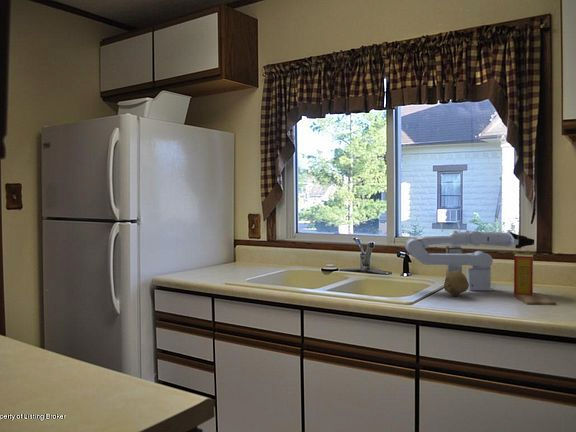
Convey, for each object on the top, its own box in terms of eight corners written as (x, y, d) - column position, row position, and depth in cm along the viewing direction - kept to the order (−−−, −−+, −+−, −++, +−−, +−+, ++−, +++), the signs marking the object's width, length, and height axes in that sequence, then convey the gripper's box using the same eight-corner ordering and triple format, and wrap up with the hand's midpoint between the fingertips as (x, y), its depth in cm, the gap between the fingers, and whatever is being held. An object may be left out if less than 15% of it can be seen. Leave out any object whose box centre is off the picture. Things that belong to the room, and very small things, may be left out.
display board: (526, 304, 182) (526, 302, 182) (514, 296, 196) (514, 294, 196) (556, 304, 181) (556, 302, 181) (542, 297, 195) (542, 295, 195)
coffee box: (445, 280, 236) (445, 245, 236) (459, 280, 235) (459, 245, 234) (447, 283, 227) (447, 247, 227) (462, 283, 226) (462, 247, 225)
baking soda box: (532, 296, 196) (532, 255, 195) (514, 295, 199) (514, 254, 198) (532, 292, 204) (533, 253, 204) (515, 291, 207) (515, 252, 206)
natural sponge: (473, 296, 198) (473, 270, 197) (461, 299, 192) (461, 273, 192) (452, 293, 205) (452, 268, 204) (440, 296, 199) (440, 270, 198)
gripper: (503, 231, 203) (538, 233, 202) (491, 227, 218) (524, 228, 217) (501, 249, 204) (536, 250, 203) (490, 243, 218) (523, 245, 217)
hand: (530, 240), depth 210 cm, fingers open, 7 cm apart
